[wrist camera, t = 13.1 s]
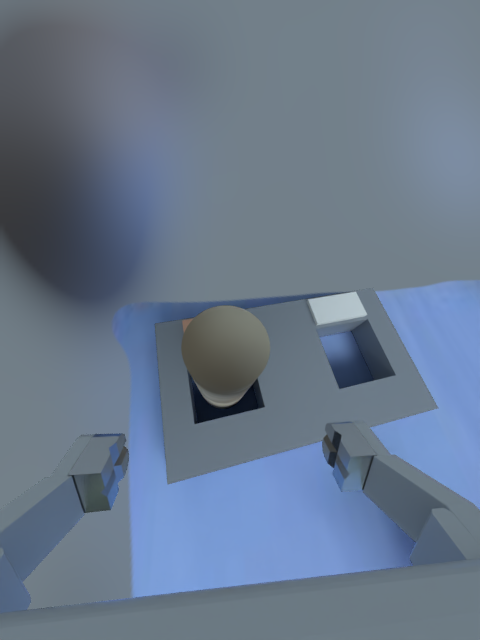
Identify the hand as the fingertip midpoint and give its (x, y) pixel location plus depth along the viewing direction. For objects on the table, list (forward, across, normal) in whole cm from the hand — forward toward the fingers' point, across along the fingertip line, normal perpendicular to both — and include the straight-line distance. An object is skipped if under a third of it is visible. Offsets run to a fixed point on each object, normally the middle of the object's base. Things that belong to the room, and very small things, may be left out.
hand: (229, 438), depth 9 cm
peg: (+11, 0, +5) cm, 12 cm away
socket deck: (+12, -6, +5) cm, 14 cm away
